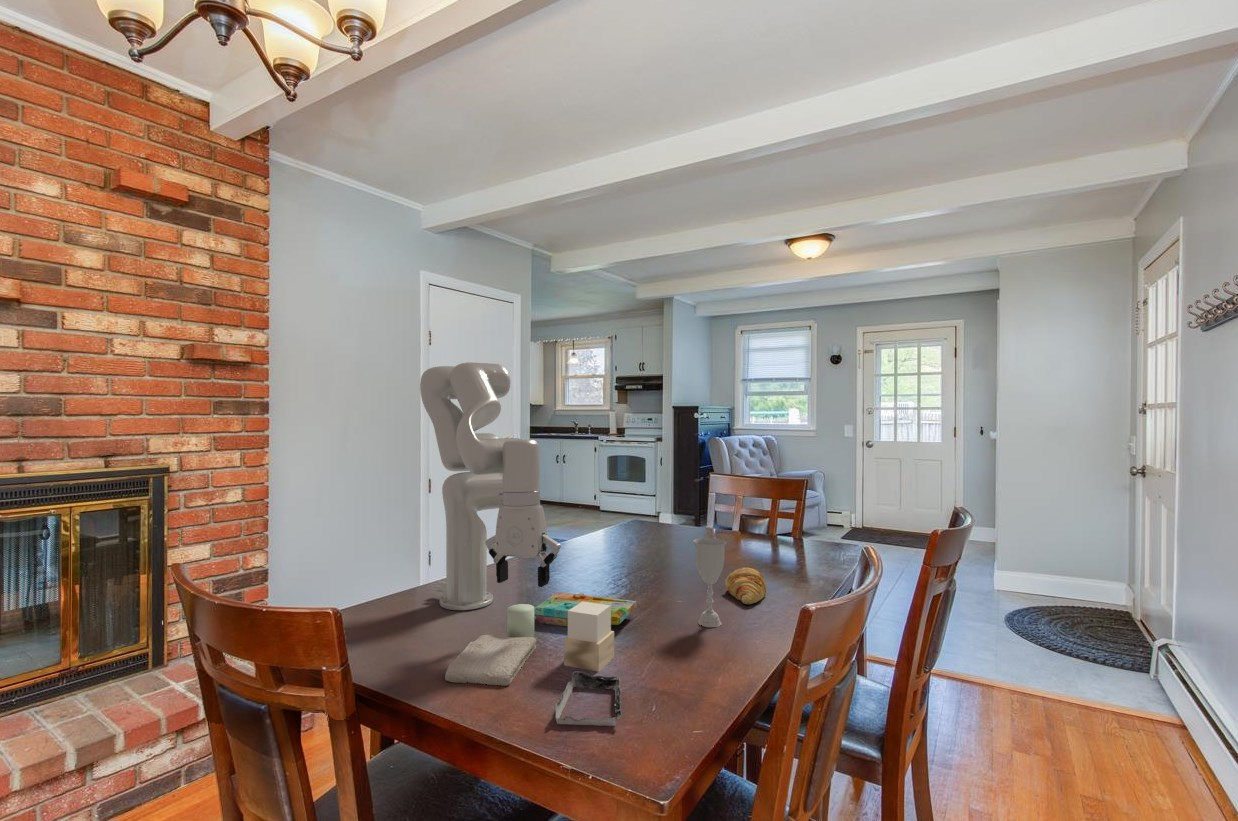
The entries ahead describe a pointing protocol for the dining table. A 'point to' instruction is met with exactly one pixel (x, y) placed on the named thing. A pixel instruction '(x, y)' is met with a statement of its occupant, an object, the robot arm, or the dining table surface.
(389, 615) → the dining table surface
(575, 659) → the oak base block
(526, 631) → the sage round block
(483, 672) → the washcloth
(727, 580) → the croissant
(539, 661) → the dining table surface
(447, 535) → the robot arm
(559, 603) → the puzzle game
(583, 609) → the cream middle block
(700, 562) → the chalice
